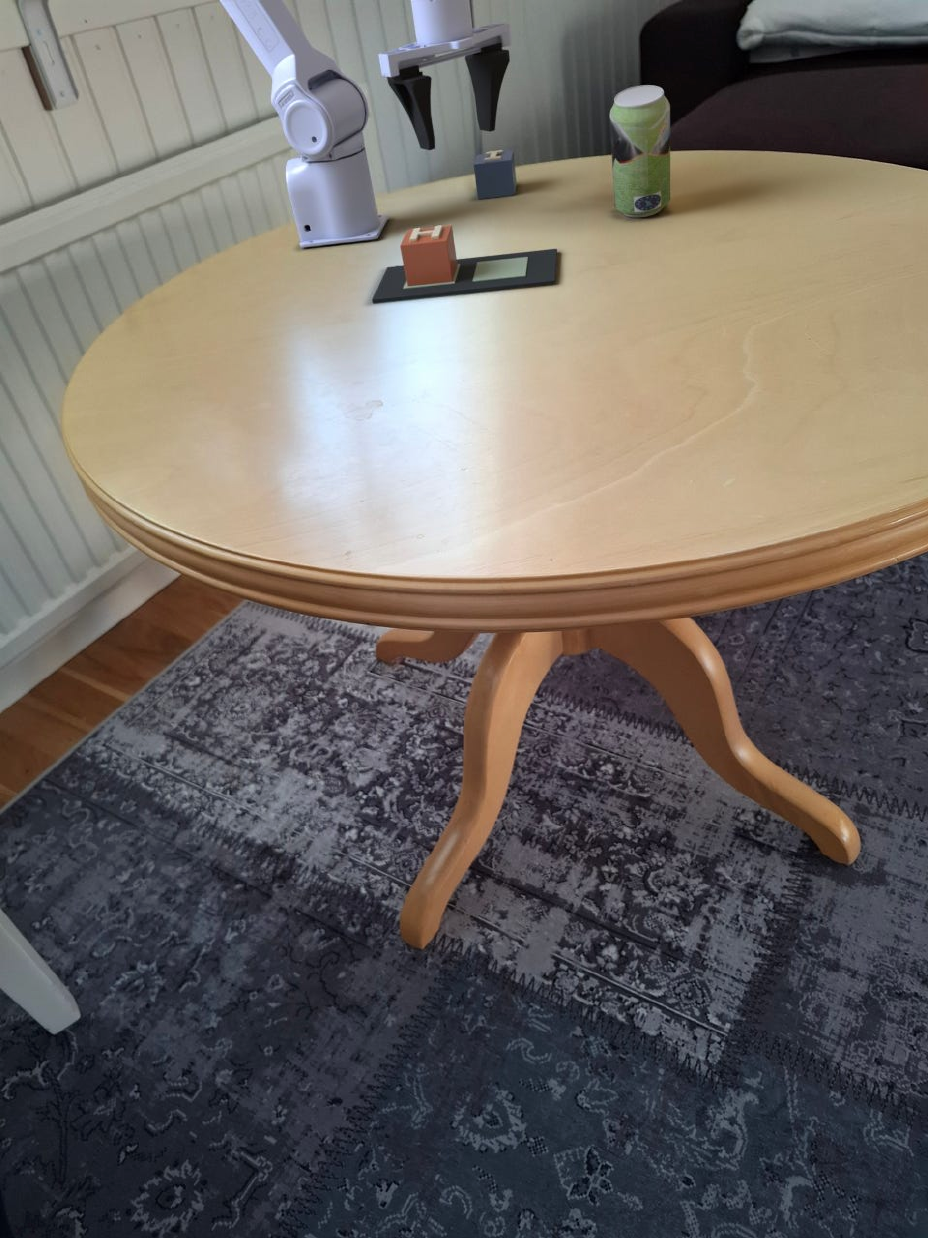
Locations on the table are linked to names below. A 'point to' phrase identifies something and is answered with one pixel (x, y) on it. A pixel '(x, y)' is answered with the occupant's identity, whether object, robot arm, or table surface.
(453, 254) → the red letter block
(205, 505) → the table surface
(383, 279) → the word mat
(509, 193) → the blue cube
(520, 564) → the table surface
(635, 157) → the beverage can
